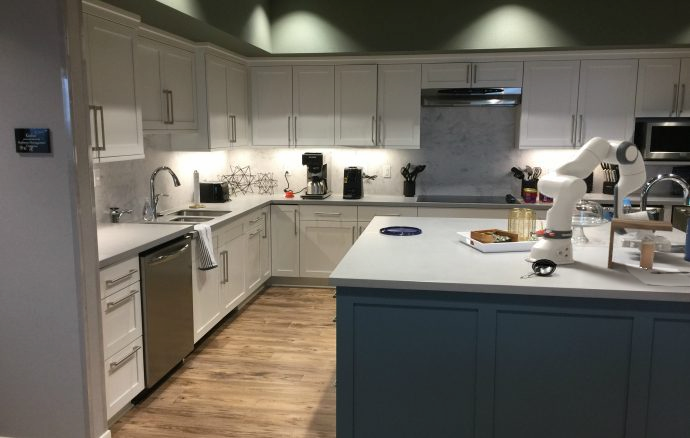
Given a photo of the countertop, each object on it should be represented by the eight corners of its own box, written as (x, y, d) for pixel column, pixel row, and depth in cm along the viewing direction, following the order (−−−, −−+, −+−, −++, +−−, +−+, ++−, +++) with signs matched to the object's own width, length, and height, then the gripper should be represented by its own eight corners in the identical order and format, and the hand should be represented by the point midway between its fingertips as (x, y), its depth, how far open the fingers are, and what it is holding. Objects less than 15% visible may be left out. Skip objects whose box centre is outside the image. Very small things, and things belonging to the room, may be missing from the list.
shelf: (608, 261, 260) (611, 217, 257) (665, 266, 250) (670, 221, 247) (607, 268, 246) (611, 222, 243) (668, 274, 236) (672, 226, 233)
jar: (647, 270, 244) (650, 242, 242) (636, 267, 248) (639, 240, 246) (655, 268, 246) (657, 241, 244) (644, 266, 250) (646, 239, 249)
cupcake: (541, 244, 295) (542, 222, 294) (531, 241, 304) (532, 219, 302) (555, 244, 298) (556, 221, 296) (545, 241, 306) (547, 218, 304)
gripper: (621, 233, 274) (621, 238, 262) (670, 237, 265) (672, 242, 253) (620, 246, 275) (620, 252, 263) (669, 250, 266) (671, 256, 254)
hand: (646, 247), depth 258 cm, fingers open, 8 cm apart
